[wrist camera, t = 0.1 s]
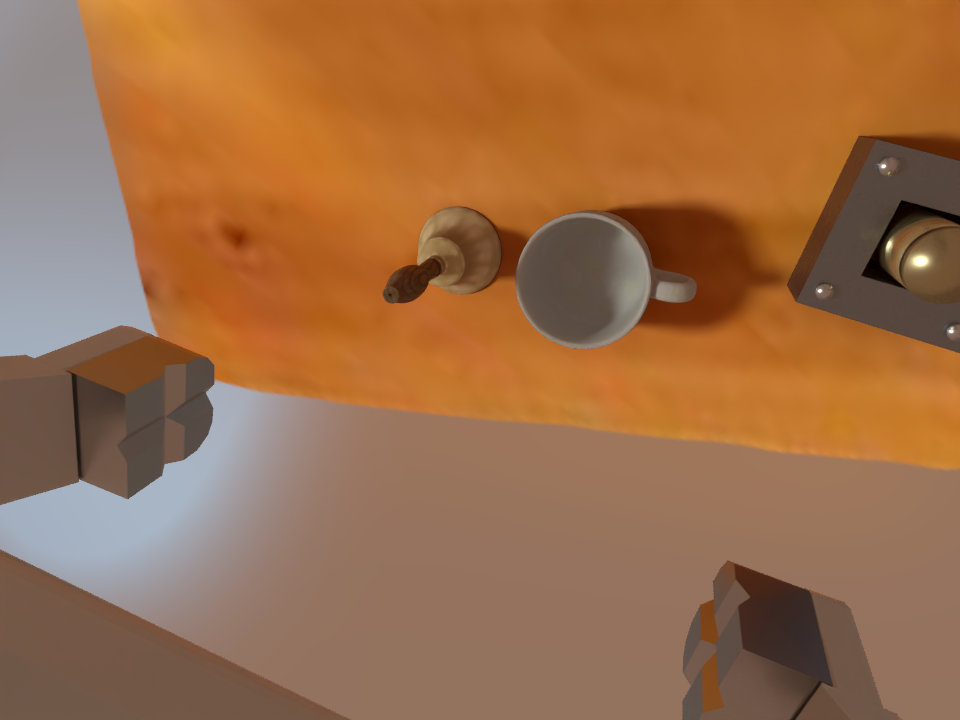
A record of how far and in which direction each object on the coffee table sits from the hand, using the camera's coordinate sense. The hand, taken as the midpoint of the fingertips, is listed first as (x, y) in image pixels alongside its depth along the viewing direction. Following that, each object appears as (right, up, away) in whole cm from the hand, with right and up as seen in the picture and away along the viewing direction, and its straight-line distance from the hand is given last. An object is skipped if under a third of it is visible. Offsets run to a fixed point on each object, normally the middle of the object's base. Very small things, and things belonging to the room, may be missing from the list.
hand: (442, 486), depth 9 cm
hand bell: (-1, +12, +50) cm, 51 cm away
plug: (+33, +11, +39) cm, 52 cm away
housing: (+33, +11, +39) cm, 52 cm away
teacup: (+12, +10, +46) cm, 49 cm away
